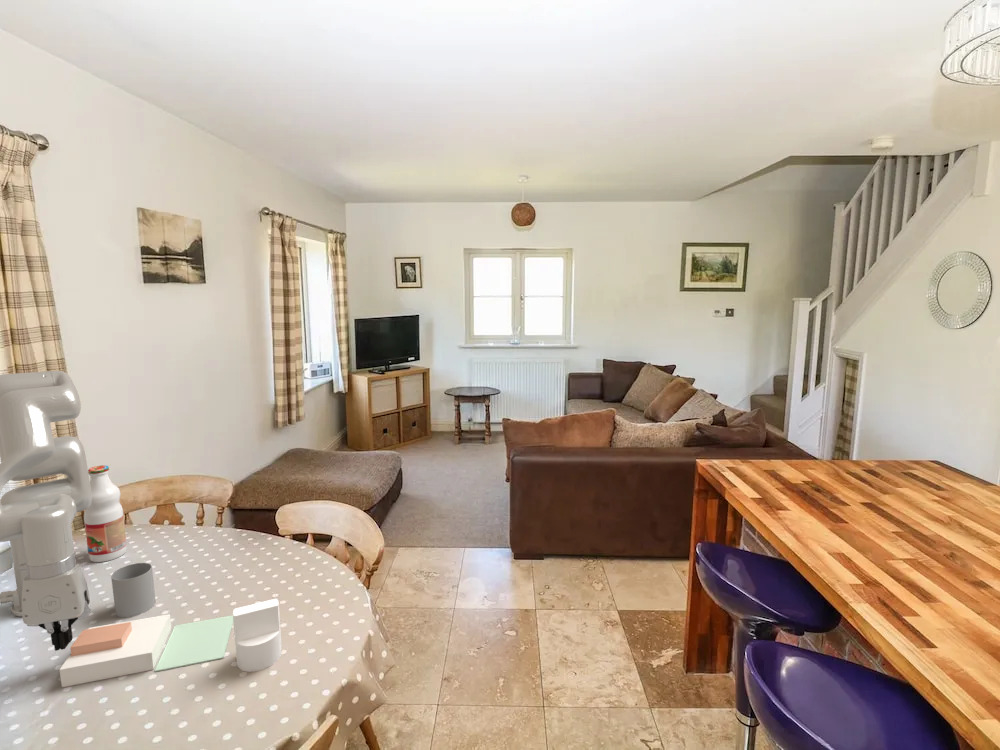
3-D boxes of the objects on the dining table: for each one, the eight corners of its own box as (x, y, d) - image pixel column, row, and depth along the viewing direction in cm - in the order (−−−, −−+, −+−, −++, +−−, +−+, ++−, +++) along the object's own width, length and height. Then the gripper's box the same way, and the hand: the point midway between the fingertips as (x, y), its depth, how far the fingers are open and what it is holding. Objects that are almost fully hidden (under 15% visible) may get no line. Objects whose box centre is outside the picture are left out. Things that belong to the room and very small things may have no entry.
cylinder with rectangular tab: (237, 677, 107) (233, 624, 105) (236, 650, 115) (232, 601, 113) (283, 663, 111) (280, 612, 109) (280, 638, 119) (276, 591, 117)
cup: (163, 601, 133) (159, 566, 132) (131, 620, 126) (127, 582, 124) (140, 595, 136) (136, 560, 134) (107, 613, 128) (103, 576, 127)
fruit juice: (127, 556, 156) (118, 468, 152) (88, 566, 151) (77, 475, 146) (127, 544, 164) (117, 460, 159) (89, 553, 158) (78, 466, 154)
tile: (71, 656, 107) (70, 647, 107) (83, 638, 113) (82, 630, 113) (122, 646, 110) (121, 638, 110) (131, 630, 116) (131, 621, 115)
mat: (154, 672, 108) (154, 670, 108) (175, 626, 123) (174, 625, 123) (223, 658, 113) (223, 657, 112) (235, 615, 127) (234, 614, 127)
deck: (61, 687, 104) (59, 669, 103) (91, 643, 117) (89, 627, 116) (153, 669, 109) (151, 652, 108) (171, 629, 122) (170, 614, 122)
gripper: (-4, 581, 100) (9, 665, 103) (87, 568, 105) (97, 649, 108) (17, 562, 107) (29, 642, 110) (102, 551, 112) (111, 628, 115)
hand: (63, 645), depth 109 cm, fingers closed
